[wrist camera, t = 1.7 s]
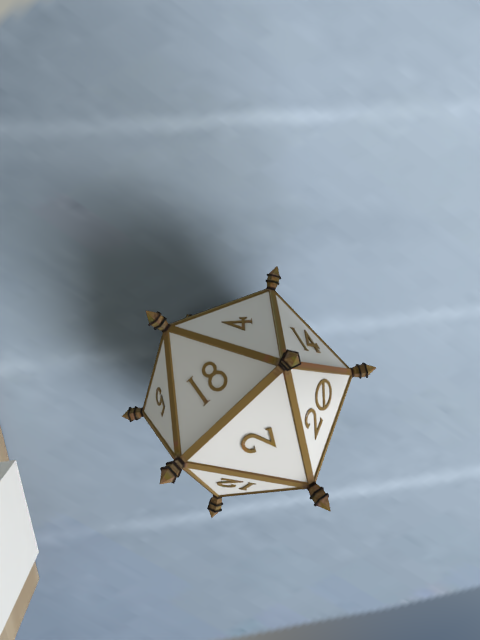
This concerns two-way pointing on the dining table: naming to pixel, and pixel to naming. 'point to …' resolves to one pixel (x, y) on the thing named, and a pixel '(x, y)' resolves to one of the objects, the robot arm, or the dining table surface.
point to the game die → (245, 397)
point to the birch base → (28, 588)
